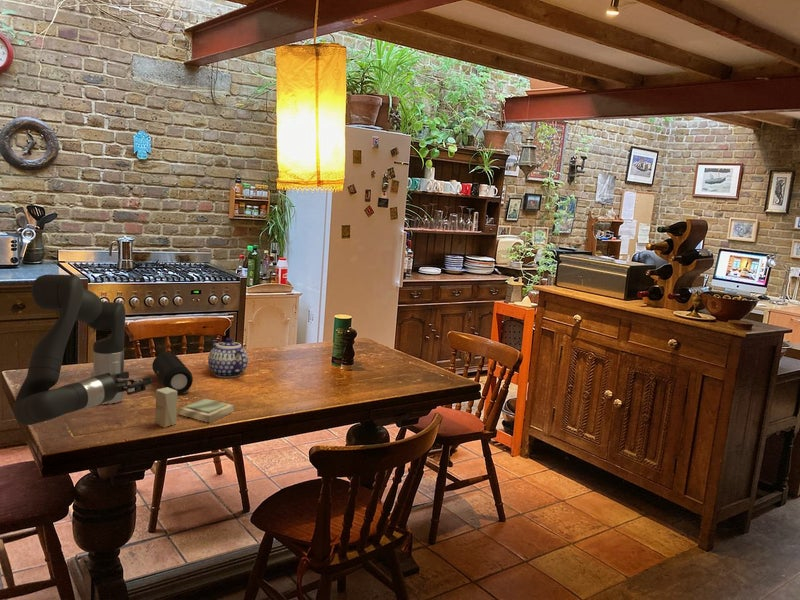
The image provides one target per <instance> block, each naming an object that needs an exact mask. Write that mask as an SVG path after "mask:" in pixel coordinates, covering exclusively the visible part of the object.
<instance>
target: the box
mask: <svg viewBox="0 0 800 600" xmlns="http://www.w3.org/2000/svg"><path fill="white" fill-rule="evenodd" d="M155 393H156V394H155V415H154V417H155V419H154V424H155V423H157V424H159V425H162V426H164V427H166V426H170V425H173V424H176V425H177V419H178V418H177V416H178V415H177V414H178V413H177V412H178V394H177V391H176V390H174V389H171V388H168V387H166V388H165V387H162V388H159V389H158V388H157V389H155ZM157 424H156V425H157ZM159 425H158V426H159ZM173 426H174V425H173ZM164 427H163V428H164ZM170 427H171V426H170Z"/></svg>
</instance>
